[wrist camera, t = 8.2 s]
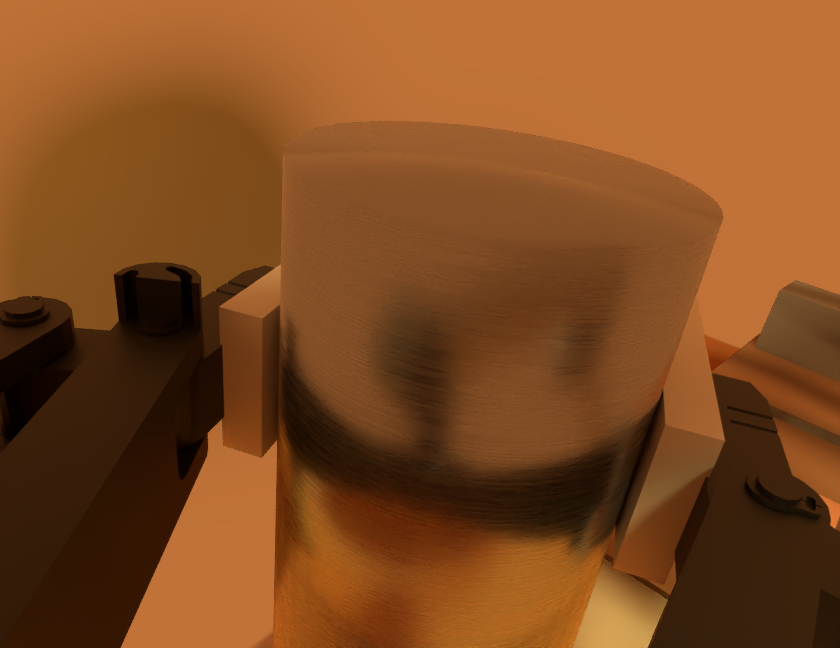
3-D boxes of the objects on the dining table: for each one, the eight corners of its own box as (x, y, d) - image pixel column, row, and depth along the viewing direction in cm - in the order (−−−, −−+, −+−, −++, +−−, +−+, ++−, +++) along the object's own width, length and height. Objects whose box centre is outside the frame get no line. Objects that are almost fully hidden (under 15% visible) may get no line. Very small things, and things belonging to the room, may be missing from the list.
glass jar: (503, 519, 17) (595, 135, 12) (609, 757, 12) (833, 255, 7) (270, 537, 16) (276, 109, 11) (276, 818, 10) (293, 236, 6)
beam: (749, 354, 47) (784, 275, 45) (883, 408, 42) (930, 323, 40) (550, 522, 24) (600, 380, 22) (788, 678, 20) (884, 520, 17)
